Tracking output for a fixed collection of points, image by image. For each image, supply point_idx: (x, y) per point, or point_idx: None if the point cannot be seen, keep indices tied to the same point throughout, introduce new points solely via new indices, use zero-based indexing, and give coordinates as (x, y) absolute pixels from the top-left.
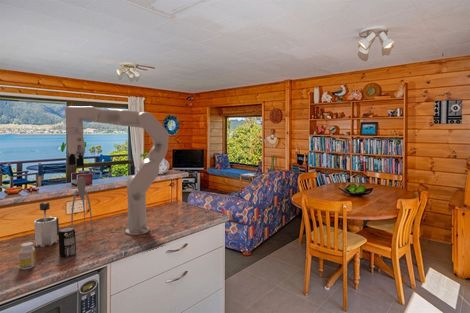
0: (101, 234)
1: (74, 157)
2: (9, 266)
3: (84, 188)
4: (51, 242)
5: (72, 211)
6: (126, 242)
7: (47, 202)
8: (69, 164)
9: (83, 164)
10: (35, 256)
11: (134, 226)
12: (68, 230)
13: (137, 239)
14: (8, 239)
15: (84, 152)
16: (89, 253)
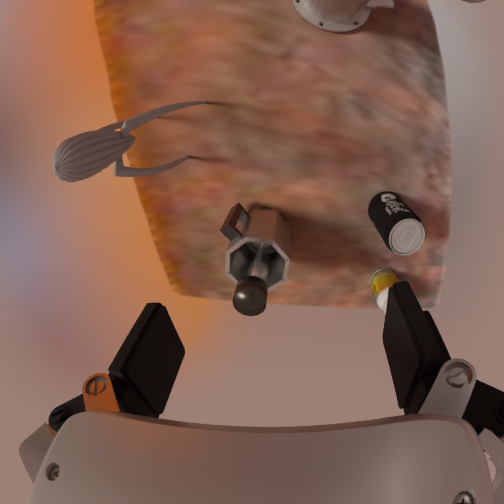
0: (285, 89)
1: (135, 377)
2: (354, 301)
3: (111, 134)
4: (289, 227)
5: (164, 168)
6: (403, 65)
7: (241, 294)
8: (181, 353)
9: (412, 292)
10: (393, 278)
11: (361, 10)
12: (417, 235)
13: (399, 33)
14: (179, 289)
15: (472, 430)
16: (411, 166)
